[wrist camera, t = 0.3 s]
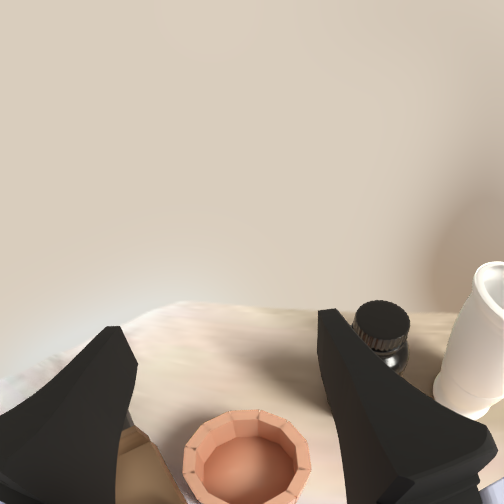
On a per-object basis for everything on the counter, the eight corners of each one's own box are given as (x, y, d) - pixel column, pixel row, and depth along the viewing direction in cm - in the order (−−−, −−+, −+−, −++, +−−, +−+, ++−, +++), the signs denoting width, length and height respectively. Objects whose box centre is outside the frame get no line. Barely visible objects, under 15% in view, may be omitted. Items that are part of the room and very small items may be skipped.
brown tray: (61, 564, 10) (21, 556, 7) (28, 441, 20) (-3, 419, 17) (204, 520, 15) (178, 513, 12) (136, 389, 25) (111, 361, 22)
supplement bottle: (319, 378, 32) (332, 296, 26) (374, 368, 33) (400, 286, 26) (334, 430, 26) (359, 356, 20) (395, 415, 27) (436, 338, 21)
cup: (310, 518, 19) (317, 510, 16) (192, 522, 19) (179, 513, 16) (298, 427, 27) (301, 406, 25) (197, 431, 27) (188, 410, 25)
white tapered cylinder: (481, 356, 31) (529, 260, 23) (506, 419, 22) (578, 324, 14) (415, 365, 32) (457, 259, 24) (433, 438, 23) (507, 339, 15)
